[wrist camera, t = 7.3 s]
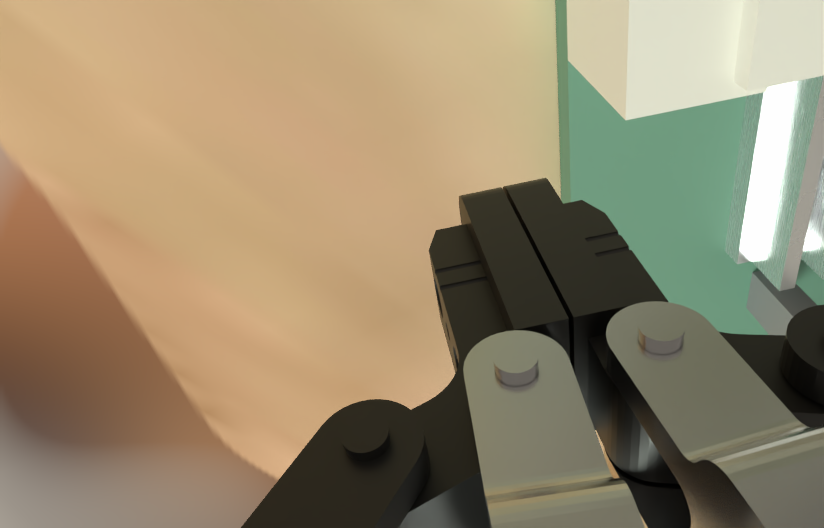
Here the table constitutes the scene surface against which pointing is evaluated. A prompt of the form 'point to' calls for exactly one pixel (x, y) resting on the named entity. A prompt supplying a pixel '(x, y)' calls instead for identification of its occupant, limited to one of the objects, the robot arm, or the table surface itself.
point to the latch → (692, 49)
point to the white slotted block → (780, 183)
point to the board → (671, 199)
